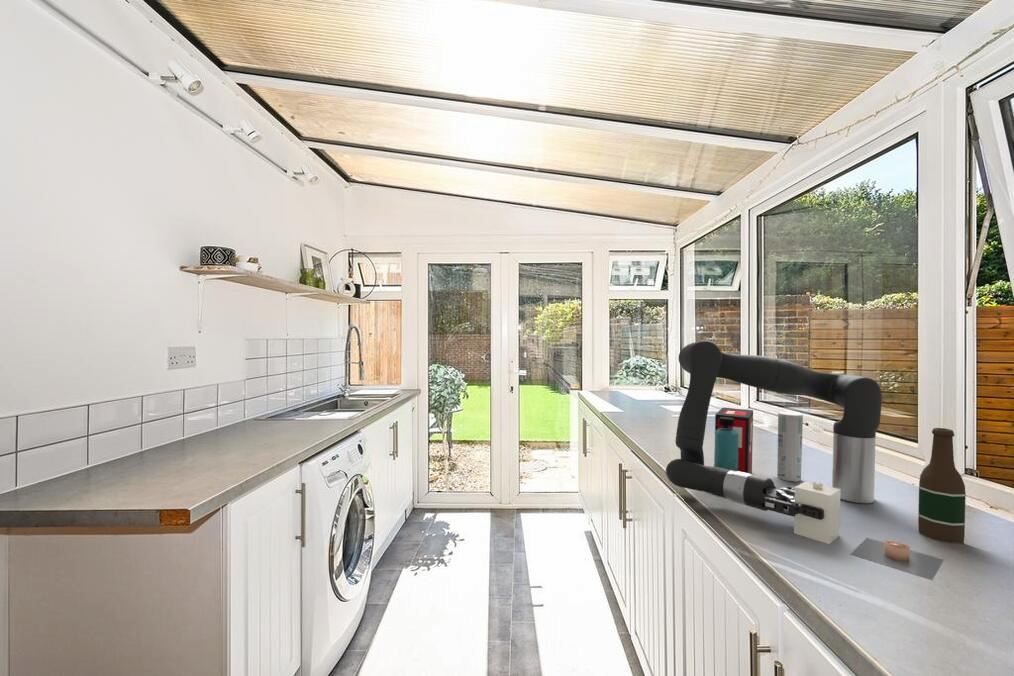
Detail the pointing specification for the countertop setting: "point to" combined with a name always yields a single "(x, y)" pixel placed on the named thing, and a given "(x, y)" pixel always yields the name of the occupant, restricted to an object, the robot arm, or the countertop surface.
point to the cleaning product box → (740, 434)
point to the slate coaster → (915, 565)
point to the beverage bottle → (726, 446)
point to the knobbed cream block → (825, 500)
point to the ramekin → (896, 550)
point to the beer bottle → (942, 493)
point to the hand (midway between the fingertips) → (829, 510)
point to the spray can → (789, 446)
